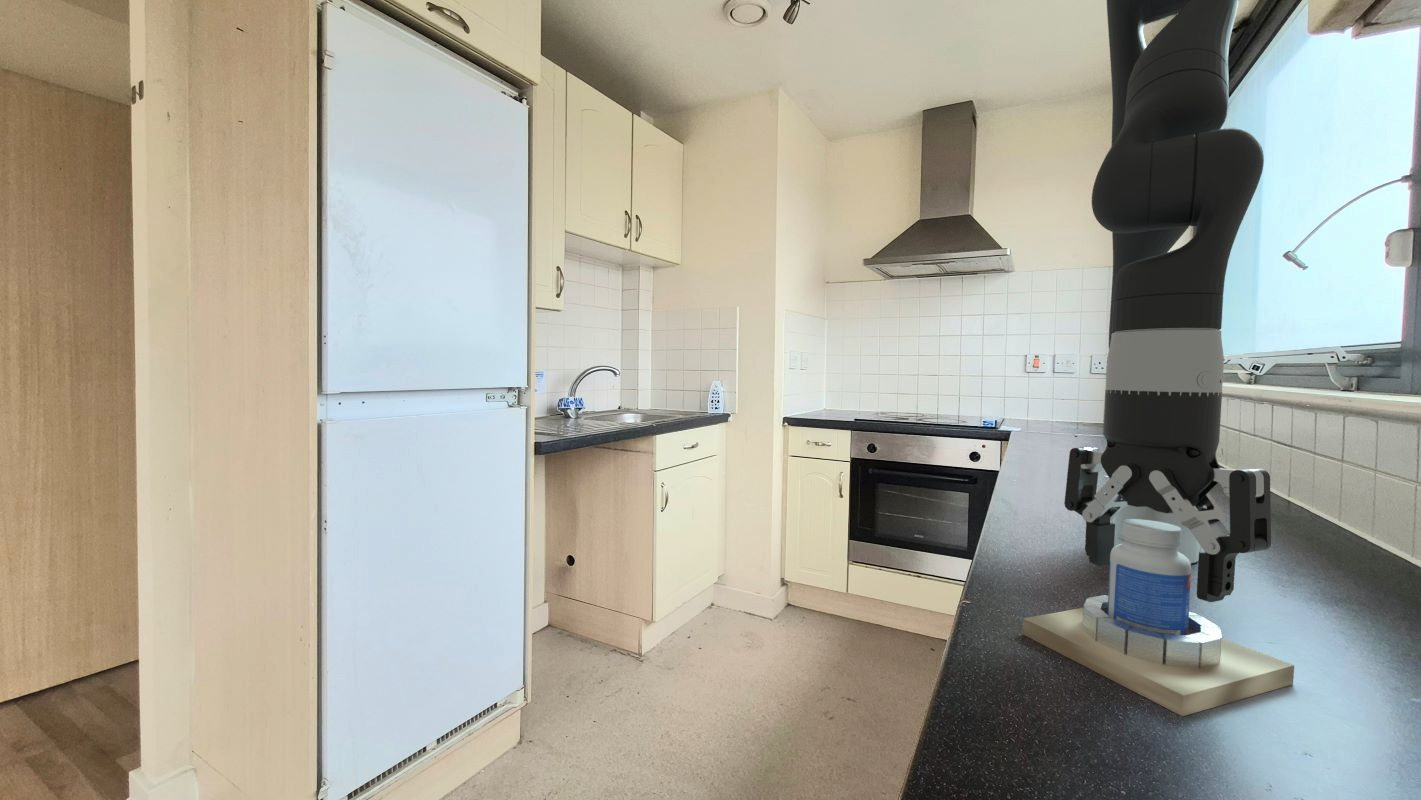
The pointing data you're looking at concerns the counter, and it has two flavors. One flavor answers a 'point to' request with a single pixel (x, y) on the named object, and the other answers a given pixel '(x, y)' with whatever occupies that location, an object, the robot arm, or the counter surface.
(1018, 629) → the counter surface
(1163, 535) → the pill bottle
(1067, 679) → the counter surface
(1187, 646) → the steel collar
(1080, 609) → the carrier plate
